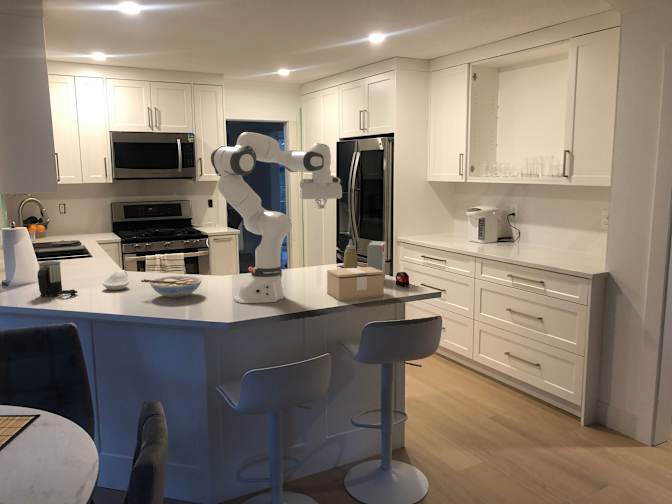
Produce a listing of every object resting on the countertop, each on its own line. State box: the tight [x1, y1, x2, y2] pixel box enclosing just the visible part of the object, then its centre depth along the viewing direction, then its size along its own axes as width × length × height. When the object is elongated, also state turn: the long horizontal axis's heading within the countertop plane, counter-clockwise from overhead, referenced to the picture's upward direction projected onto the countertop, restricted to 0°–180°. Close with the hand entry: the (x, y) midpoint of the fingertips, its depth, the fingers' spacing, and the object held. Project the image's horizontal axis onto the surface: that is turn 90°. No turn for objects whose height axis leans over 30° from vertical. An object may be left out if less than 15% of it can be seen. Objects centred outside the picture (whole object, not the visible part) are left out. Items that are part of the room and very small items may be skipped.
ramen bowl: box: [140, 274, 203, 299], centre depth 248 cm, size 25×23×8 cm
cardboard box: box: [326, 272, 385, 302], centre depth 251 cm, size 22×14×10 cm, turn 112°
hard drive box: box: [366, 240, 387, 280], centre depth 279 cm, size 16×8×20 cm, turn 168°
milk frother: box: [37, 260, 79, 297], centre depth 249 cm, size 14×16×15 cm
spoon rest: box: [102, 269, 130, 291], centre depth 267 cm, size 24×12×7 cm, turn 11°
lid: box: [326, 266, 384, 277], centre depth 250 cm, size 22×14×1 cm, turn 112°
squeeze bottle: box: [342, 238, 359, 269], centre depth 304 cm, size 8×8×18 cm
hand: (321, 208), depth 259 cm, fingers closed
